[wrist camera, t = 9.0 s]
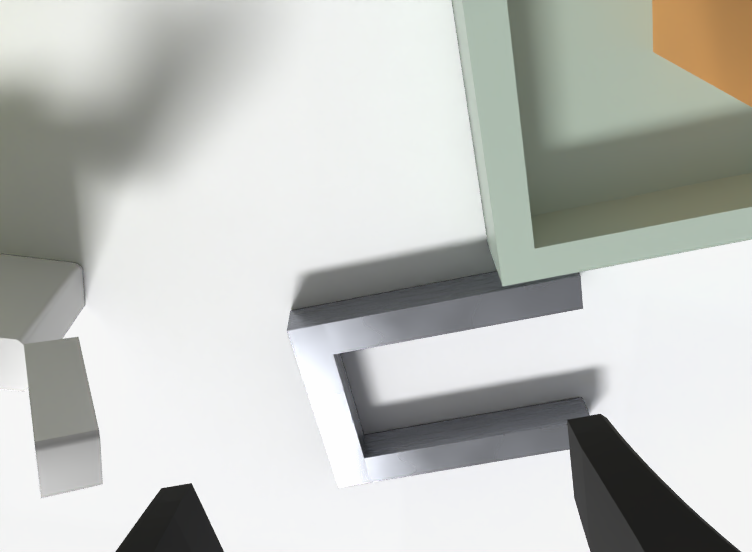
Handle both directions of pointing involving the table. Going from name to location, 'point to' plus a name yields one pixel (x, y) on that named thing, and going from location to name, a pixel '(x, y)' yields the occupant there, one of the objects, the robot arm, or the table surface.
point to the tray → (595, 139)
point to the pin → (708, 41)
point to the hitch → (414, 321)
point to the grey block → (49, 368)
